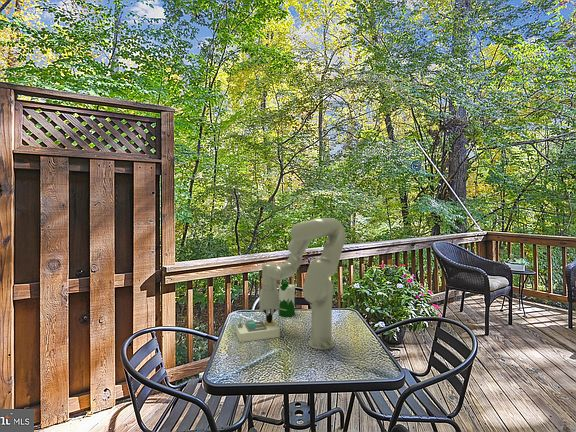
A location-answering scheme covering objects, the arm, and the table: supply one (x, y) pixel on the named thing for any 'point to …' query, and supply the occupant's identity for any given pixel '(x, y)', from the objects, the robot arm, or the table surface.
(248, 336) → the panel
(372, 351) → the table surface
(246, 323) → the slider grey
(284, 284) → the milk carton
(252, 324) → the slider teal
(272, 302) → the robot arm
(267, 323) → the button
